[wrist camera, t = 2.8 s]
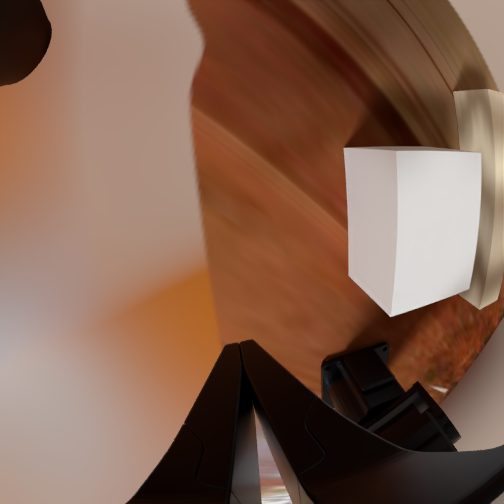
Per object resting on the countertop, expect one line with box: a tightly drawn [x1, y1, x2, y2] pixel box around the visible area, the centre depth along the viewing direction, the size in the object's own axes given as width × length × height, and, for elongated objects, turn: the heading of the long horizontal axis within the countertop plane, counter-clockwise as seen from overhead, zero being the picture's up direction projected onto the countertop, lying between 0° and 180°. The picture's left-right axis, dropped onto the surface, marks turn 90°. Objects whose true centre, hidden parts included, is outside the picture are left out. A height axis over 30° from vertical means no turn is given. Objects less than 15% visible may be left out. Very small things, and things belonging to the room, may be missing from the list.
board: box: [453, 89, 504, 310], centre depth 18 cm, size 18×3×4 cm, turn 9°
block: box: [344, 146, 481, 317], centre depth 17 cm, size 9×7×6 cm
